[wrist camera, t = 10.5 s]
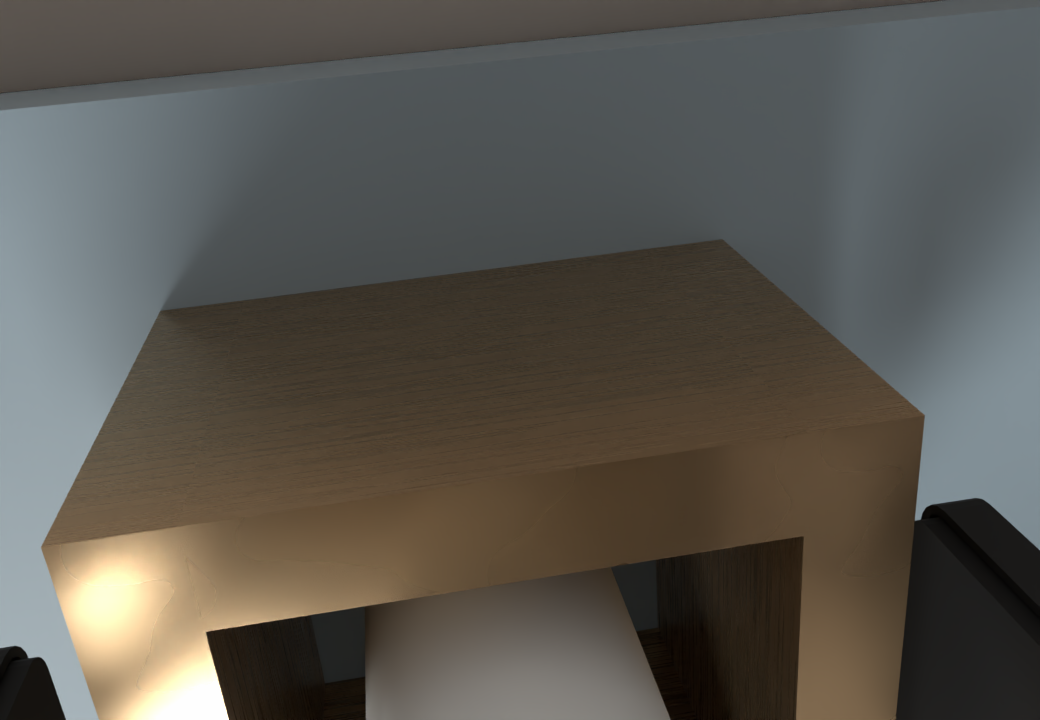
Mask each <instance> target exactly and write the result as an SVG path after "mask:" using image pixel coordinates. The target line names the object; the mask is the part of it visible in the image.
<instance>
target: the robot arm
mask: <svg viewBox="0 0 1040 720" xmlns="http://www.w3.org/2000/svg"><path fill="white" fill-rule="evenodd" d="M0 720H66V718H65V715H64V712H63V709H62V706H61V704H60V701H59V698H58V695H57V692H56V689H55V686H54V683H53V681H52V678H51V675H50V672H49V669H48V667H47V665H46V662H45V661H44V660H43V659H42V658H41V657H34V658H28V656H27V653H26V652H25V651H24V650H23V649H22V648H21V647H19V646H10V647H4V648H0ZM896 720H1040V550H1039V549H1038V548H1037V547H1036V546H1035V545H1034V544H1033V543H1031V542H1030V541H1029V540H1028V539H1027V538H1026V537H1025V536H1024V535H1023V534H1022V533H1021V532H1020V531H1018V530H1017V529H1016V528H1015V527H1014V526H1013V525H1012V524H1011V523H1010V522H1009V521H1008V520H1007V519H1005V518H1004V517H1003V516H1002V515H1001V514H1000V513H999V512H998V511H997V510H996V509H995V508H993V507H992V506H991V505H990V504H989V503H988V502H986V501H985V500H983V499H980V498H972V499H965V500H959V501H952V502H946V503H939V504H933V505H930V506H928V507H926V508H925V510H924V511H923V513H922V517H921V520H916V521H915V523H914V534H913V544H912V554H911V565H910V575H909V585H908V596H907V606H906V616H905V627H904V637H903V648H902V658H901V668H900V679H899V689H898V699H897V710H896Z"/></svg>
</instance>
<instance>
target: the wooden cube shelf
mask: <svg viewBox="0 0 1040 720" xmlns="http://www.w3.org/2000/svg"><path fill="white" fill-rule="evenodd" d="M924 419H925V415H924V414H923V413H922V412H920V411H919V410H918V409H917V408H916V407H915V406H914V405H912V404H911V403H910V402H909V401H908V400H907V399H906V398H904V397H903V396H902V395H901V394H900V393H899V392H897V391H896V390H895V389H894V388H893V387H892V386H891V385H889V384H888V383H887V382H886V381H885V380H884V379H883V378H881V377H880V376H879V375H878V374H877V373H876V372H874V371H873V370H872V369H871V368H870V367H869V366H868V365H866V364H865V363H864V362H863V361H862V360H861V359H860V358H858V357H857V356H856V355H855V354H854V353H853V352H851V351H850V350H849V349H848V348H847V347H846V346H845V345H843V344H842V343H841V342H840V341H839V340H838V339H837V338H835V337H834V336H833V335H832V334H831V333H830V332H828V331H827V330H826V329H825V328H824V327H823V326H822V325H820V324H819V323H818V322H817V321H816V320H815V319H814V318H812V317H811V316H810V315H809V314H808V313H807V312H806V311H804V310H803V309H802V308H801V307H800V306H799V305H797V304H796V303H795V302H794V301H793V300H792V299H791V298H789V297H788V296H787V295H786V294H785V293H784V292H783V291H781V290H780V289H779V288H778V287H777V286H776V285H774V284H773V283H772V282H771V281H770V280H769V279H768V278H766V277H765V276H764V275H763V274H762V273H761V272H760V271H758V270H757V269H756V268H755V267H754V266H753V265H751V264H750V263H749V262H748V261H747V260H746V259H745V258H743V257H742V256H741V255H740V254H739V253H738V252H737V251H735V250H734V249H733V248H732V247H731V246H730V245H728V244H727V243H726V242H725V241H724V240H723V239H720V240H712V241H704V242H697V243H689V244H681V245H673V246H665V247H657V248H650V249H642V250H634V251H626V252H618V253H610V254H603V255H595V256H587V257H579V258H571V259H563V260H555V261H548V262H540V263H532V264H524V265H516V266H508V267H501V268H493V269H485V270H477V271H469V272H461V273H454V274H446V275H438V276H430V277H422V278H414V279H407V280H399V281H391V282H383V283H375V284H367V285H359V286H352V287H344V288H336V289H328V290H320V291H312V292H305V293H297V294H289V295H281V296H273V297H265V298H258V299H250V300H242V301H234V302H226V303H218V304H211V305H203V306H195V307H187V308H179V309H171V310H163V311H160V312H159V314H158V316H157V318H156V320H155V322H154V324H153V326H152V328H151V330H150V332H149V334H148V336H147V338H146V340H145V342H144V344H143V346H142V348H141V350H140V352H139V354H138V356H137V358H136V360H135V362H134V364H133V366H132V368H131V370H130V372H129V374H128V376H127V378H126V380H125V382H124V384H123V386H122V388H121V390H120V392H119V394H118V395H117V397H116V399H115V401H114V403H113V405H112V407H111V409H110V411H109V413H108V415H107V417H106V419H105V421H104V423H103V425H102V427H101V429H100V431H99V433H98V435H97V437H96V439H95V441H94V443H93V445H92V447H91V449H90V451H89V453H88V455H87V457H86V459H85V461H84V463H83V465H82V467H81V469H80V471H79V473H78V475H77V477H76V479H75V481H74V483H73V485H72V487H71V489H70V491H69V492H68V494H67V496H66V498H65V500H64V502H63V504H62V506H61V508H60V510H59V512H58V514H57V516H56V518H55V520H54V522H53V524H52V526H51V528H50V530H49V532H48V534H47V536H46V538H45V540H44V542H43V544H42V546H41V550H42V552H43V555H44V558H45V561H46V564H47V567H48V570H49V573H50V576H51V579H52V582H53V585H54V588H55V591H56V594H57V597H58V600H59V603H60V606H61V609H62V612H63V615H64V618H65V621H66V624H67V626H68V629H69V632H70V635H71V638H72V641H73V644H74V647H75V650H76V653H77V656H78V659H79V662H80V665H81V668H82V671H83V674H84V677H85V680H86V683H87V686H88V689H89V692H90V695H91V698H92V700H93V703H94V706H95V709H96V712H97V715H98V718H99V720H366V690H365V677H359V678H353V679H347V680H341V681H335V682H330V683H325V680H324V675H323V671H322V666H321V661H320V656H319V652H318V647H317V642H316V637H315V633H314V628H313V623H312V618H311V615H314V614H320V613H326V612H332V611H339V610H345V609H351V608H357V607H364V606H370V605H376V604H382V603H389V602H395V601H401V600H407V599H414V598H420V597H426V596H432V595H439V594H445V593H451V592H457V591H464V590H470V589H476V588H482V587H488V586H495V585H501V584H507V583H513V582H520V581H526V580H532V579H538V578H545V577H551V576H557V575H563V574H570V573H576V572H582V571H588V570H595V569H601V568H607V567H613V566H620V565H626V564H632V563H638V562H644V561H651V560H656V583H657V614H658V628H652V629H646V630H640V631H636V633H637V635H638V638H639V641H640V643H641V646H642V648H643V651H644V653H645V656H646V658H647V661H648V664H649V666H650V669H651V671H652V674H653V676H654V679H655V681H656V684H657V686H658V689H659V692H660V694H661V697H662V699H663V702H664V704H665V707H666V709H667V712H668V714H669V717H670V720H896V710H897V699H898V689H899V679H900V668H901V658H902V648H903V637H904V627H905V616H906V606H907V596H908V585H909V575H910V565H911V554H912V544H913V534H914V523H915V513H916V502H917V492H918V482H919V471H920V461H921V451H922V440H923V430H924Z"/></svg>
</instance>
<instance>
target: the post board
mask: <svg viewBox="0 0 1040 720" xmlns="http://www.w3.org/2000/svg"><path fill="white" fill-rule="evenodd" d="M720 239H723V240H724V241H725V242H726V243H727V244H728V245H730V246H731V247H732V248H733V249H734V250H735V251H737V252H738V253H739V254H740V255H741V256H742V257H743V258H745V259H746V260H747V261H748V262H749V263H750V264H751V265H753V266H754V267H755V268H756V269H757V270H758V271H760V272H761V273H762V274H763V275H764V276H765V277H766V278H768V279H769V280H770V281H771V282H772V283H773V284H774V285H776V286H777V287H778V288H779V289H780V290H781V291H783V292H784V293H785V294H786V295H787V296H788V297H789V298H791V299H792V300H793V301H794V302H795V303H796V304H797V305H799V306H800V307H801V308H802V309H803V310H804V311H806V312H807V313H808V314H809V315H810V316H811V317H812V318H814V319H815V320H816V321H817V322H818V323H819V324H820V325H822V326H823V327H824V328H825V329H826V330H827V331H828V332H830V333H831V334H832V335H833V336H834V337H835V338H837V339H838V340H839V341H840V342H841V343H842V344H843V345H845V346H846V347H847V348H848V349H849V350H850V351H851V352H853V353H854V354H855V355H856V356H857V357H858V358H860V359H861V360H862V361H863V362H864V363H865V364H866V365H868V366H869V367H870V368H871V369H872V370H873V371H874V372H876V373H877V374H878V375H879V376H880V377H881V378H883V379H884V380H885V381H886V382H887V383H888V384H889V385H891V386H892V387H893V388H894V389H895V390H896V391H897V392H899V393H900V394H901V395H902V396H903V397H904V398H906V399H907V400H908V401H909V402H910V403H911V404H912V405H914V406H915V407H916V408H917V409H918V410H919V411H920V412H922V413H923V414H924V415H925V419H924V430H923V440H922V451H921V461H920V471H919V482H918V492H917V502H916V513H915V521H916V520H921V517H922V513H923V511H924V510H925V508H926V507H928V506H930V505H933V504H939V503H946V502H952V501H959V500H965V499H972V498H980V499H983V500H985V501H986V502H988V503H989V504H990V505H991V506H992V507H993V508H995V509H996V510H997V511H998V512H999V513H1000V514H1001V515H1002V516H1003V517H1004V518H1005V519H1007V520H1008V521H1009V522H1010V523H1011V524H1012V525H1013V526H1014V527H1015V528H1016V529H1017V530H1018V531H1020V532H1021V533H1022V534H1023V535H1024V536H1025V537H1026V538H1027V539H1028V540H1029V541H1030V542H1031V543H1033V544H1034V545H1035V546H1036V547H1037V548H1038V549H1039V550H1040V0H944V1H934V2H924V3H914V4H903V5H893V6H883V7H873V8H863V9H853V10H842V11H832V12H822V13H812V14H802V15H792V16H781V17H771V18H761V19H751V20H741V21H731V22H720V23H710V24H700V25H690V26H680V27H670V28H659V29H649V30H639V31H629V32H619V33H609V34H598V35H588V36H578V37H568V38H558V39H548V40H537V41H527V42H517V43H507V44H497V45H487V46H476V47H466V48H456V49H446V50H436V51H426V52H415V53H405V54H395V55H385V56H375V57H365V58H354V59H344V60H334V61H324V62H314V63H304V64H294V65H283V66H273V67H263V68H253V69H243V70H233V71H222V72H212V73H202V74H192V75H182V76H172V77H161V78H151V79H141V80H131V81H121V82H111V83H100V84H90V85H80V86H70V87H60V88H50V89H39V90H29V91H19V92H9V93H0V648H4V647H10V646H19V647H21V648H22V649H23V650H24V651H25V652H26V653H27V656H28V658H34V657H41V658H42V659H43V660H44V661H45V662H46V665H47V667H48V669H49V672H50V675H51V678H52V681H53V683H54V686H55V689H56V692H57V695H58V698H59V701H60V704H61V706H62V709H63V712H64V715H65V718H66V720H99V718H98V715H97V712H96V709H95V706H94V703H93V700H92V698H91V695H90V692H89V689H88V686H87V683H86V680H85V677H84V674H83V671H82V668H81V665H80V662H79V659H78V656H77V653H76V650H75V647H74V644H73V641H72V638H71V635H70V632H69V629H68V626H67V624H66V621H65V618H64V615H63V612H62V609H61V606H60V603H59V600H58V597H57V594H56V591H55V588H54V585H53V582H52V579H51V576H50V573H49V570H48V567H47V564H46V561H45V558H44V555H43V552H42V550H41V546H42V544H43V542H44V540H45V538H46V536H47V534H48V532H49V530H50V528H51V526H52V524H53V522H54V520H55V518H56V516H57V514H58V512H59V510H60V508H61V506H62V504H63V502H64V500H65V498H66V496H67V494H68V492H69V491H70V489H71V487H72V485H73V483H74V481H75V479H76V477H77V475H78V473H79V471H80V469H81V467H82V465H83V463H84V461H85V459H86V457H87V455H88V453H89V451H90V449H91V447H92V445H93V443H94V441H95V439H96V437H97V435H98V433H99V431H100V429H101V427H102V425H103V423H104V421H105V419H106V417H107V415H108V413H109V411H110V409H111V407H112V405H113V403H114V401H115V399H116V397H117V395H118V394H119V392H120V390H121V388H122V386H123V384H124V382H125V380H126V378H127V376H128V374H129V372H130V370H131V368H132V366H133V364H134V362H135V360H136V358H137V356H138V354H139V352H140V350H141V348H142V346H143V344H144V342H145V340H146V338H147V336H148V334H149V332H150V330H151V328H152V326H153V324H154V322H155V320H156V318H157V316H158V314H159V312H160V311H163V310H171V309H179V308H187V307H195V306H203V305H211V304H218V303H226V302H234V301H242V300H250V299H258V298H265V297H273V296H281V295H289V294H297V293H305V292H312V291H320V290H328V289H336V288H344V287H352V286H359V285H367V284H375V283H383V282H391V281H399V280H407V279H414V278H422V277H430V276H438V275H446V274H454V273H461V272H469V271H477V270H485V269H493V268H501V267H508V266H516V265H524V264H532V263H540V262H548V261H555V260H563V259H571V258H579V257H587V256H595V255H603V254H610V253H618V252H626V251H634V250H642V249H650V248H657V247H665V246H673V245H681V244H689V243H697V242H704V241H712V240H720ZM311 618H312V623H313V628H314V633H315V637H316V642H317V647H318V652H319V656H320V661H321V666H322V671H323V675H324V680H325V683H330V682H335V681H341V680H347V679H353V678H359V677H365V690H366V720H670V717H669V714H668V712H667V709H666V707H665V704H664V702H663V699H662V697H661V694H660V692H659V689H658V686H657V684H656V681H655V679H654V676H653V674H652V671H651V669H650V666H649V664H648V661H647V658H646V656H645V653H644V651H643V648H642V646H641V643H640V641H639V638H638V635H637V633H636V631H640V630H646V629H652V628H658V614H657V583H656V560H651V561H644V562H638V563H632V564H626V565H620V566H613V567H607V568H601V569H595V570H588V571H582V572H576V573H570V574H563V575H557V576H551V577H545V578H538V579H532V580H526V581H520V582H513V583H507V584H501V585H495V586H488V587H482V588H476V589H470V590H464V591H457V592H451V593H445V594H439V595H432V596H426V597H420V598H414V599H407V600H401V601H395V602H389V603H382V604H376V605H370V606H364V607H357V608H351V609H345V610H339V611H332V612H326V613H320V614H314V615H311Z"/></svg>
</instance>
